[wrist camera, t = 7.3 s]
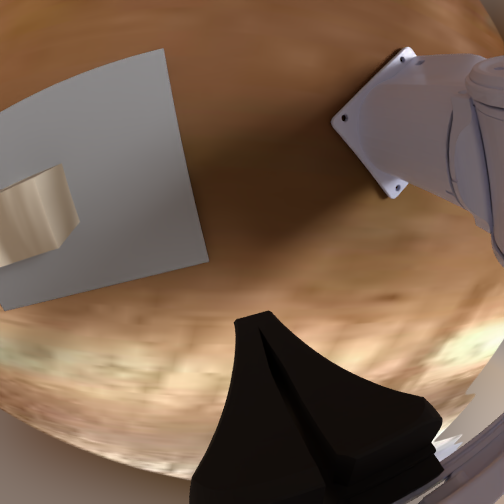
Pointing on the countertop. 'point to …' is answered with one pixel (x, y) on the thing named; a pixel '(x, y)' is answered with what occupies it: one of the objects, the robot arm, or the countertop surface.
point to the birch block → (35, 215)
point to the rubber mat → (104, 180)
